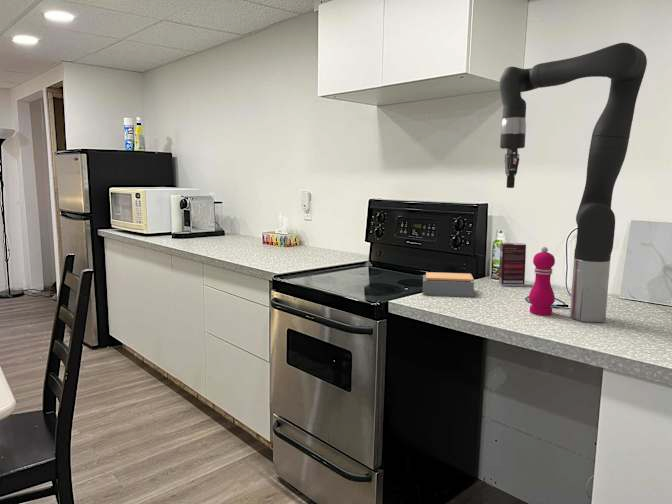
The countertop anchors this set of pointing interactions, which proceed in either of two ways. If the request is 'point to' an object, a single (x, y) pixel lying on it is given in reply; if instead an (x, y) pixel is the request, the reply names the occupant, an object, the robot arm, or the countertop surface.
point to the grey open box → (447, 288)
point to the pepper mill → (542, 284)
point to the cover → (449, 276)
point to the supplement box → (512, 264)
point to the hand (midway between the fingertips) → (510, 187)
